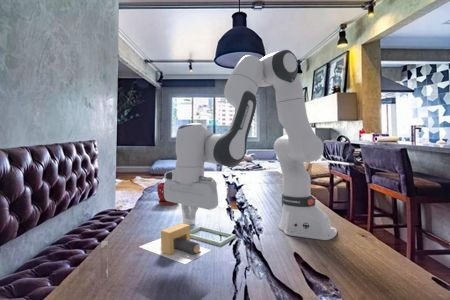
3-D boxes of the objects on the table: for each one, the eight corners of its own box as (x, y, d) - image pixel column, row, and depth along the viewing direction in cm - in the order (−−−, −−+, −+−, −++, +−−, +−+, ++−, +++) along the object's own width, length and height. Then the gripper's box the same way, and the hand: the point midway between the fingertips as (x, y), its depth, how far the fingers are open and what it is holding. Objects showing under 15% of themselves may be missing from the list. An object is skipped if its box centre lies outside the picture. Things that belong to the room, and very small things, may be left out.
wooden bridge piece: (190, 245, 91) (189, 225, 91) (169, 255, 84) (169, 232, 83) (181, 242, 93) (181, 222, 93) (161, 251, 86) (160, 230, 86)
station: (211, 253, 87) (211, 248, 87) (185, 268, 78) (185, 262, 78) (165, 239, 100) (165, 234, 100) (138, 250, 91) (138, 245, 91)
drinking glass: (182, 228, 112) (181, 193, 112) (180, 223, 119) (180, 190, 118) (198, 226, 114) (197, 192, 113) (195, 222, 121) (195, 189, 120)
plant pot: (178, 206, 149) (177, 185, 149) (154, 206, 150) (154, 185, 149) (182, 200, 162) (182, 181, 162) (160, 201, 163) (160, 181, 162)
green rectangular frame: (235, 240, 98) (235, 234, 98) (220, 249, 91) (220, 242, 91) (200, 231, 108) (200, 226, 108) (184, 238, 101) (184, 232, 101)
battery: (198, 255, 85) (202, 244, 86) (192, 253, 82) (195, 242, 83) (170, 246, 92) (173, 236, 94) (163, 244, 90) (167, 233, 91)
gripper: (222, 176, 80) (222, 222, 80) (174, 171, 92) (174, 211, 92) (209, 179, 75) (209, 228, 75) (160, 173, 87) (160, 215, 87)
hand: (189, 218), depth 84 cm, fingers closed
